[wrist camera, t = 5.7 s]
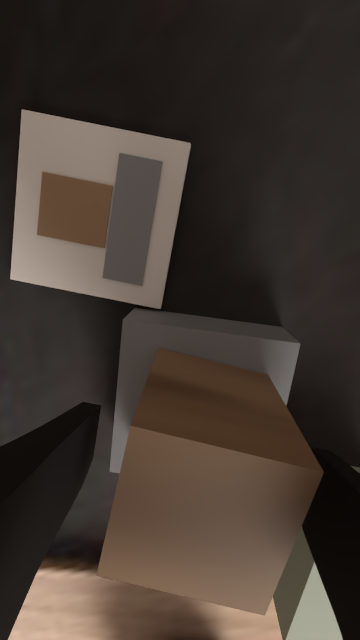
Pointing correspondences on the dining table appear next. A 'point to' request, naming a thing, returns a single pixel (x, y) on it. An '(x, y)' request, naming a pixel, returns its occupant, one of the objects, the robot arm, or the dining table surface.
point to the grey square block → (199, 341)
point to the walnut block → (209, 486)
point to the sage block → (304, 598)
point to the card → (96, 208)
